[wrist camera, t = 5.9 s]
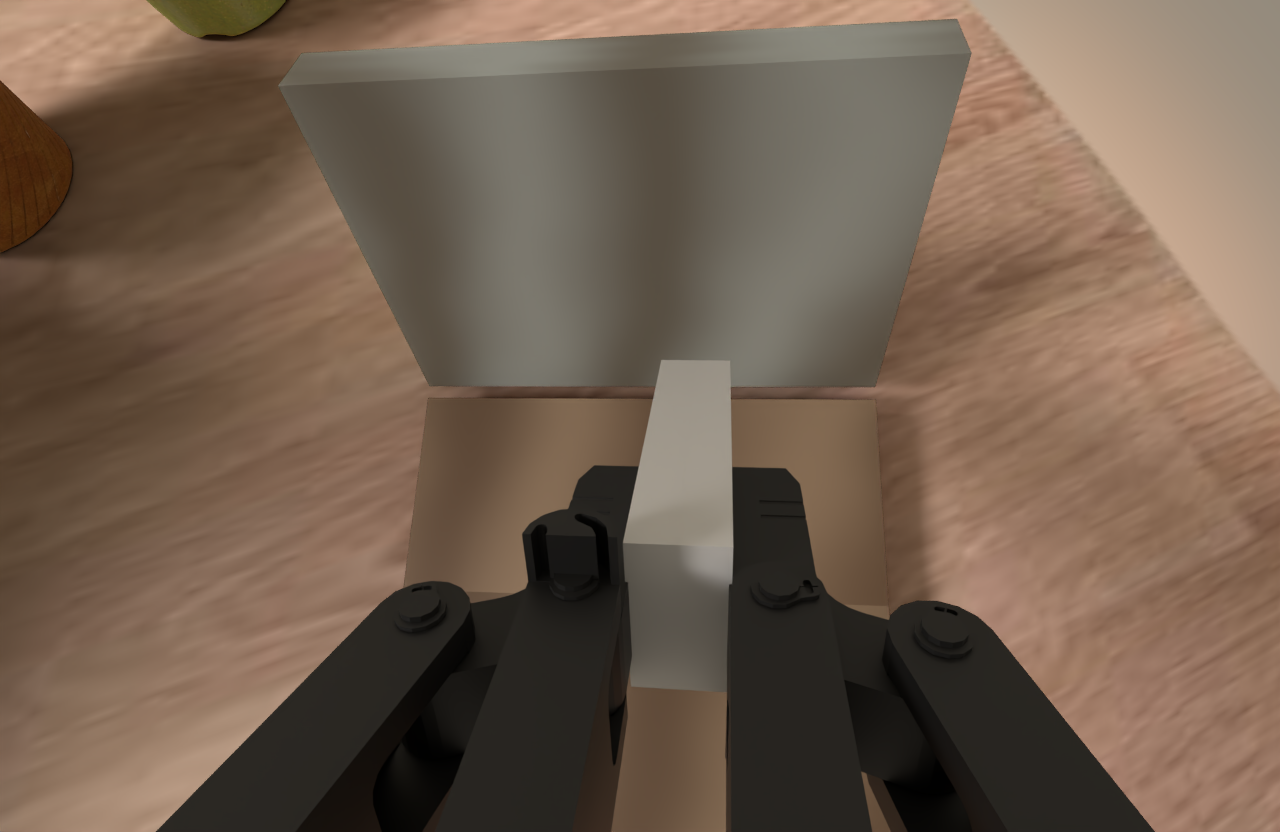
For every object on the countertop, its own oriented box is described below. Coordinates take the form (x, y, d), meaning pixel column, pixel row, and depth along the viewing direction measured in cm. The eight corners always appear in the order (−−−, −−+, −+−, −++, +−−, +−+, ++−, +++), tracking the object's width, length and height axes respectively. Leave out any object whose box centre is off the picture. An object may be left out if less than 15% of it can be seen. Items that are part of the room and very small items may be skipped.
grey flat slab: (440, 353, 24) (429, 386, 23) (301, 53, 16) (277, 86, 15) (869, 352, 22) (875, 387, 21) (956, 18, 14) (971, 53, 13)
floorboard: (395, 803, 21) (373, 815, 19) (444, 411, 24) (428, 397, 23) (890, 837, 19) (904, 853, 18) (866, 413, 23) (875, 399, 21)
